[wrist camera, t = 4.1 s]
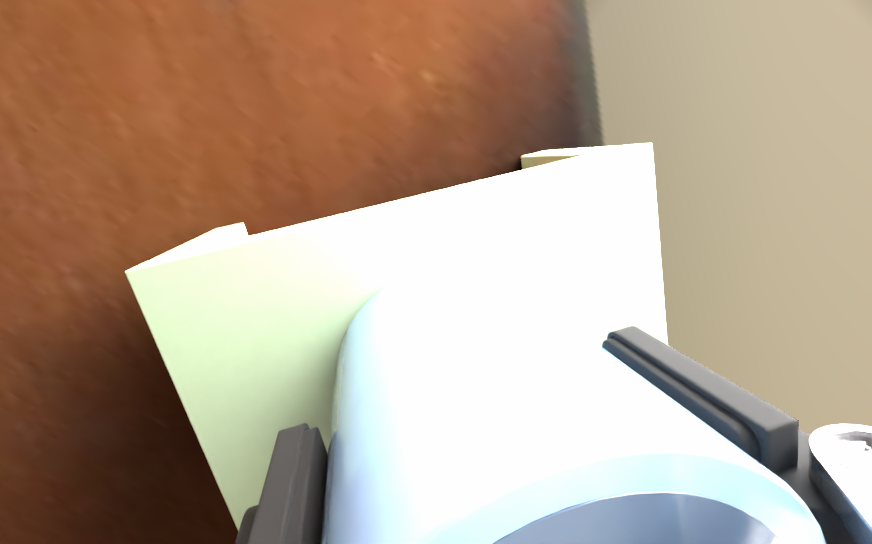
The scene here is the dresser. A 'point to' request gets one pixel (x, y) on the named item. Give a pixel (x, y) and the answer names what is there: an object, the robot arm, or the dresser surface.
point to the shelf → (375, 269)
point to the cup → (523, 434)
